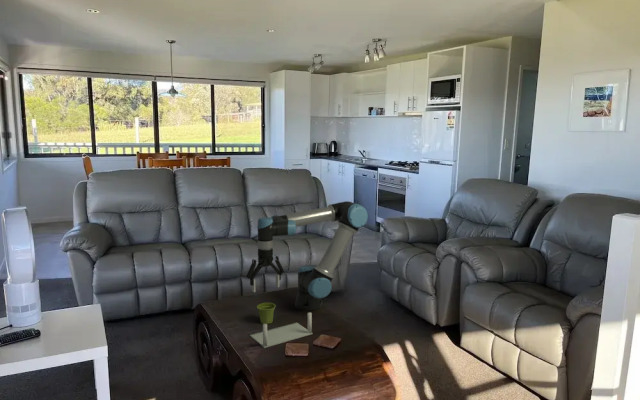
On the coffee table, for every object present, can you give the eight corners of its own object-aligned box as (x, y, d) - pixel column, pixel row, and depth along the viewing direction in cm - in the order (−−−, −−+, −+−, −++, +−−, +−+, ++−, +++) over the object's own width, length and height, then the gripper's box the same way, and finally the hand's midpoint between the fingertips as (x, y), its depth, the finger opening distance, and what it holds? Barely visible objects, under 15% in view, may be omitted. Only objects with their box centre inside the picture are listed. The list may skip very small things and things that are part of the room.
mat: (296, 323, 233) (296, 303, 231) (312, 334, 220) (312, 313, 219) (250, 335, 218) (249, 315, 217) (264, 347, 206) (263, 325, 204)
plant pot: (272, 326, 229) (272, 310, 227) (254, 325, 231) (254, 308, 229) (278, 319, 238) (277, 303, 236) (260, 317, 240) (260, 302, 238)
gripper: (283, 243, 238) (283, 282, 241) (239, 250, 225) (240, 291, 228) (290, 246, 232) (290, 286, 235) (245, 253, 218) (246, 295, 222)
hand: (265, 288), depth 231 cm, fingers open, 13 cm apart
